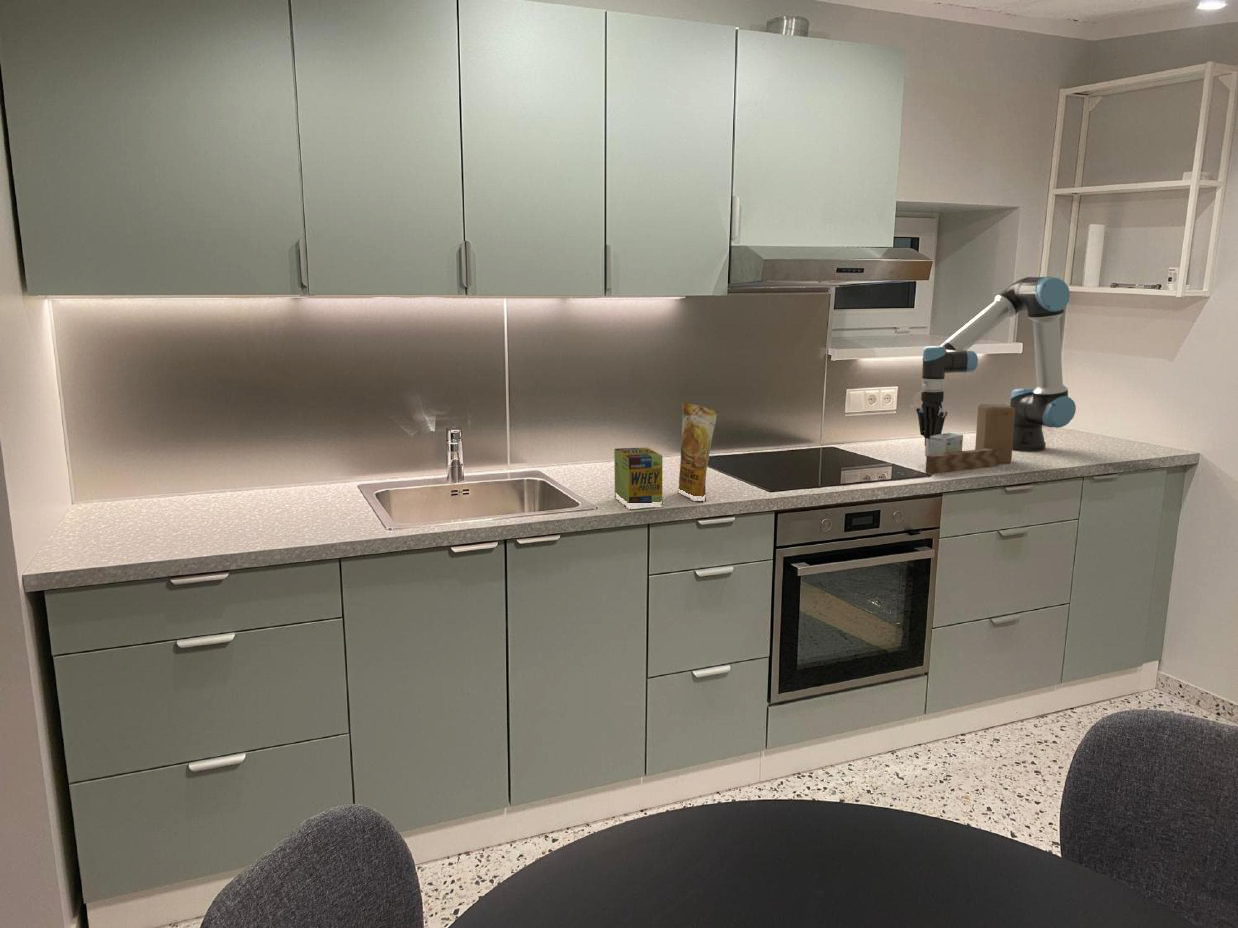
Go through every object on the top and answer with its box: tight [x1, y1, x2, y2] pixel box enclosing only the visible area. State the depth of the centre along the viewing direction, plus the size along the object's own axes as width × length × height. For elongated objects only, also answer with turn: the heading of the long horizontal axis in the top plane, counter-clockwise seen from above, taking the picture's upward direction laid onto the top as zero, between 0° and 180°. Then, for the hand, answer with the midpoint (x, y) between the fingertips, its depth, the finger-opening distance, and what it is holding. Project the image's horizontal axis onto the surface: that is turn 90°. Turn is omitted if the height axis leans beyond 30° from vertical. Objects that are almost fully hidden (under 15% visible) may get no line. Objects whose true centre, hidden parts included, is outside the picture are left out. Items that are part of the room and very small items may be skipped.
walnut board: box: [925, 448, 999, 475], centre depth 316 cm, size 30×3×6 cm, turn 115°
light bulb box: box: [929, 432, 964, 455], centre depth 323 cm, size 11×7×11 cm, turn 128°
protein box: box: [613, 446, 663, 503], centre depth 272 cm, size 10×15×16 cm
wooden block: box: [974, 403, 1015, 465], centre depth 328 cm, size 10×10×20 cm
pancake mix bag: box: [678, 401, 719, 497], centre depth 278 cm, size 7×19×28 cm, turn 21°
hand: (929, 456), depth 331 cm, fingers closed
